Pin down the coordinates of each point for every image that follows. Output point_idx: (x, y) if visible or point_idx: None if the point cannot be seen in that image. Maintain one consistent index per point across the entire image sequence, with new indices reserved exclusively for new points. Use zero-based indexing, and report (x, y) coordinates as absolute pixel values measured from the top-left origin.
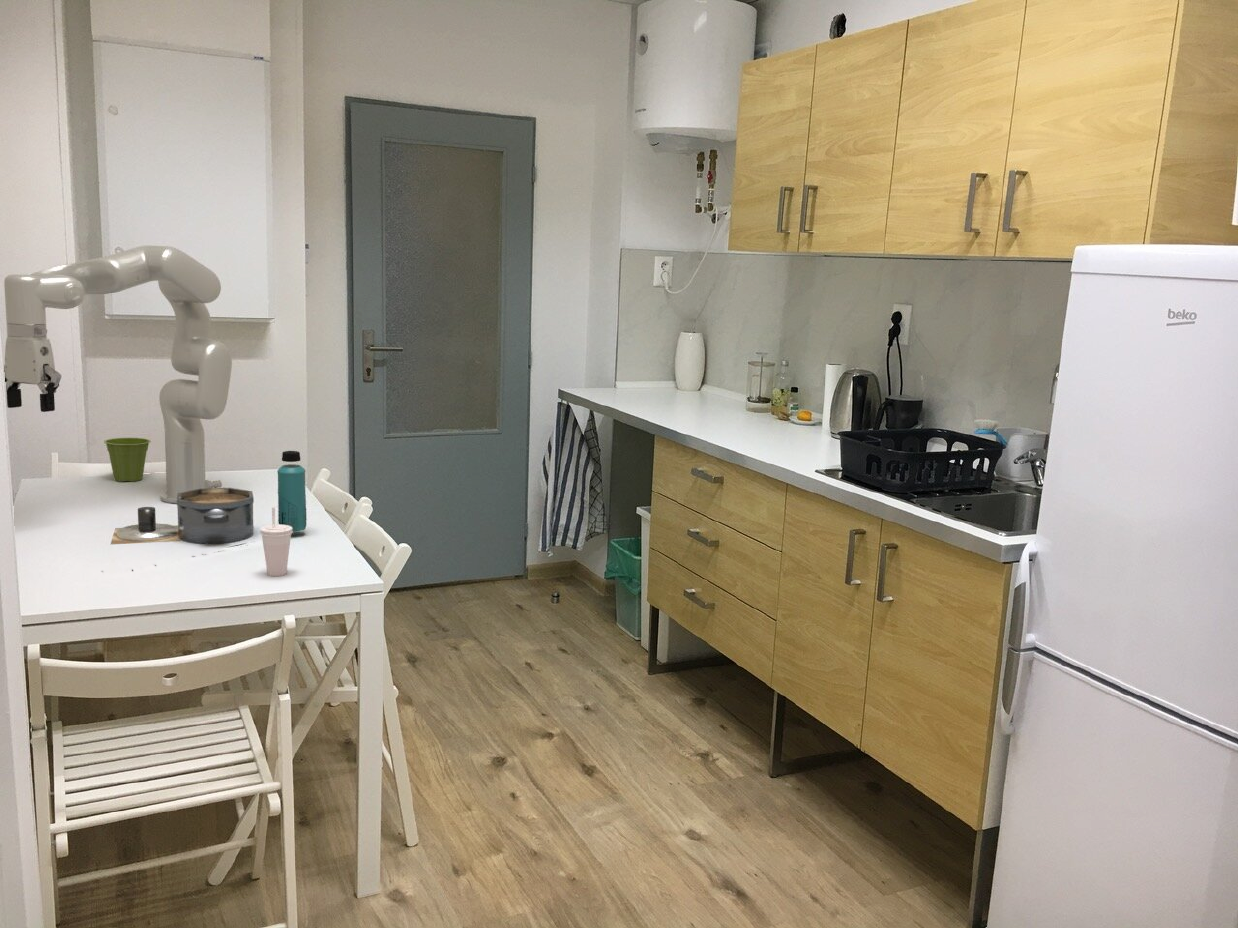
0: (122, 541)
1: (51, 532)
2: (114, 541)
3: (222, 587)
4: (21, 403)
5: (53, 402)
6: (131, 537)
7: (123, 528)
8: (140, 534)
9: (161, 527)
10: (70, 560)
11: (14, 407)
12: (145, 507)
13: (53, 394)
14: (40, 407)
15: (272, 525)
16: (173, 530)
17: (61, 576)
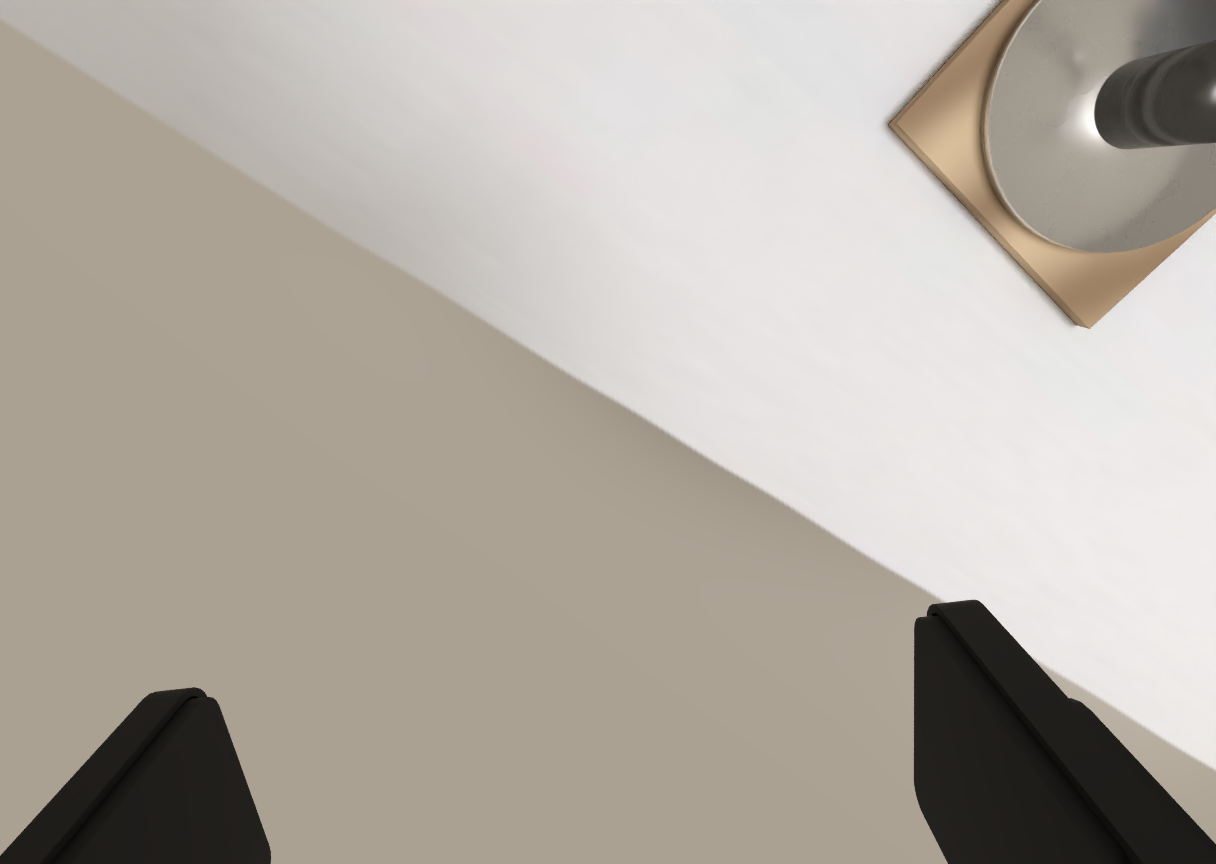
0: (1106, 270)
1: (649, 305)
2: (1074, 291)
3: None
4: (185, 725)
5: (1129, 759)
6: (1153, 243)
7: (1008, 157)
8: (1162, 185)
9: (1167, 15)
10: (1061, 514)
11: (243, 789)
12: (1206, 71)
13: (1192, 852)
14: (944, 850)
15: None
16: None
17: (1178, 637)
